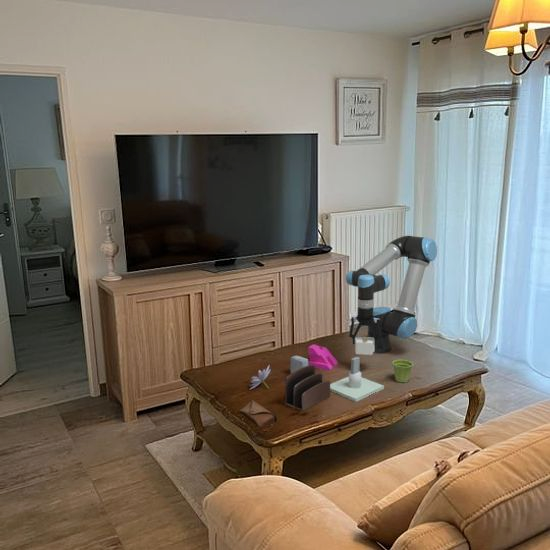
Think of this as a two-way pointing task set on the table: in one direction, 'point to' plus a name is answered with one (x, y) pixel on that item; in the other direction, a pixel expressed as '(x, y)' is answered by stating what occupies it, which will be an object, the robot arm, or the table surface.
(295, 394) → the letter holder
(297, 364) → the medicine box
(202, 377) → the table surface
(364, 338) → the slotted block
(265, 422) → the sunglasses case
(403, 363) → the plant pot
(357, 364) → the shaft stand
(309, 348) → the bracket
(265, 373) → the water lily
